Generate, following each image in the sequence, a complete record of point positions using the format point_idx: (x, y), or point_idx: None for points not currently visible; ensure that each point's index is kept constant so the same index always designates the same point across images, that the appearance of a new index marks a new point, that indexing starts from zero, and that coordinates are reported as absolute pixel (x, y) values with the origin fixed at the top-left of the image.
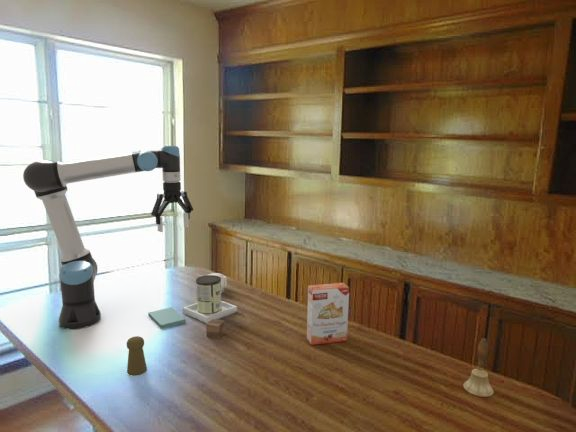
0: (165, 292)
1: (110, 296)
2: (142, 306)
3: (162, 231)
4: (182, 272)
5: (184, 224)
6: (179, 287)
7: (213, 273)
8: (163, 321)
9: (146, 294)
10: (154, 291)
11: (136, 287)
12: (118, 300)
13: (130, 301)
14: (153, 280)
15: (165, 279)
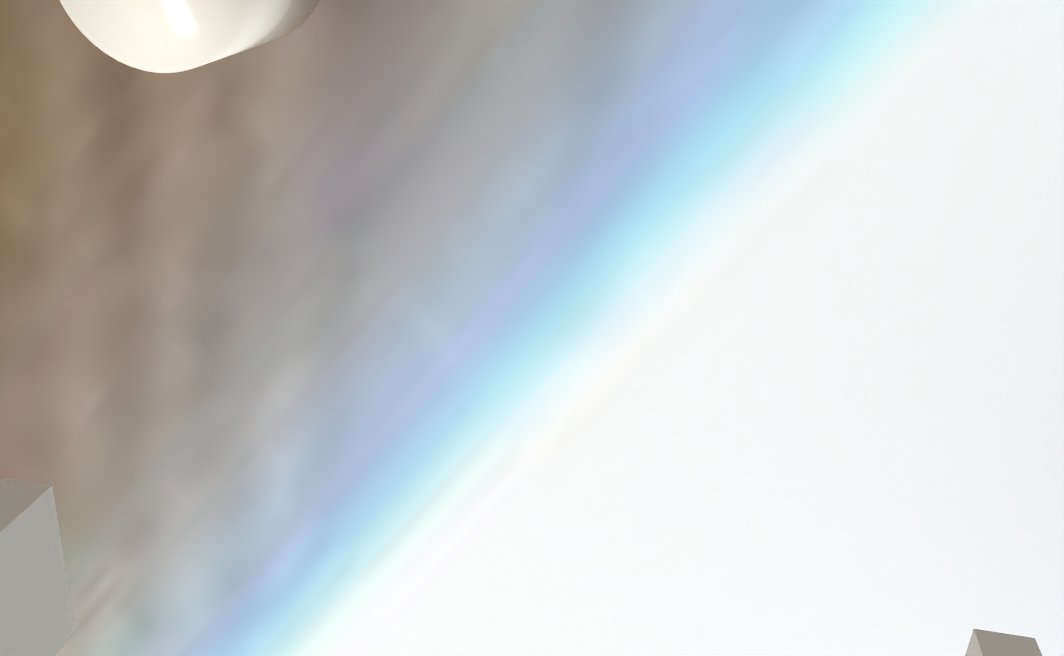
0: (585, 347)
1: (942, 648)
2: (982, 240)
3: (994, 638)
4: (155, 597)
5: (28, 648)
6: (412, 341)
7: (111, 48)
8: None
9: (728, 446)
10: (630, 446)
11: (658, 635)
12: (980, 529)
13: (942, 429)
14: (451, 646)
15: (366, 587)
